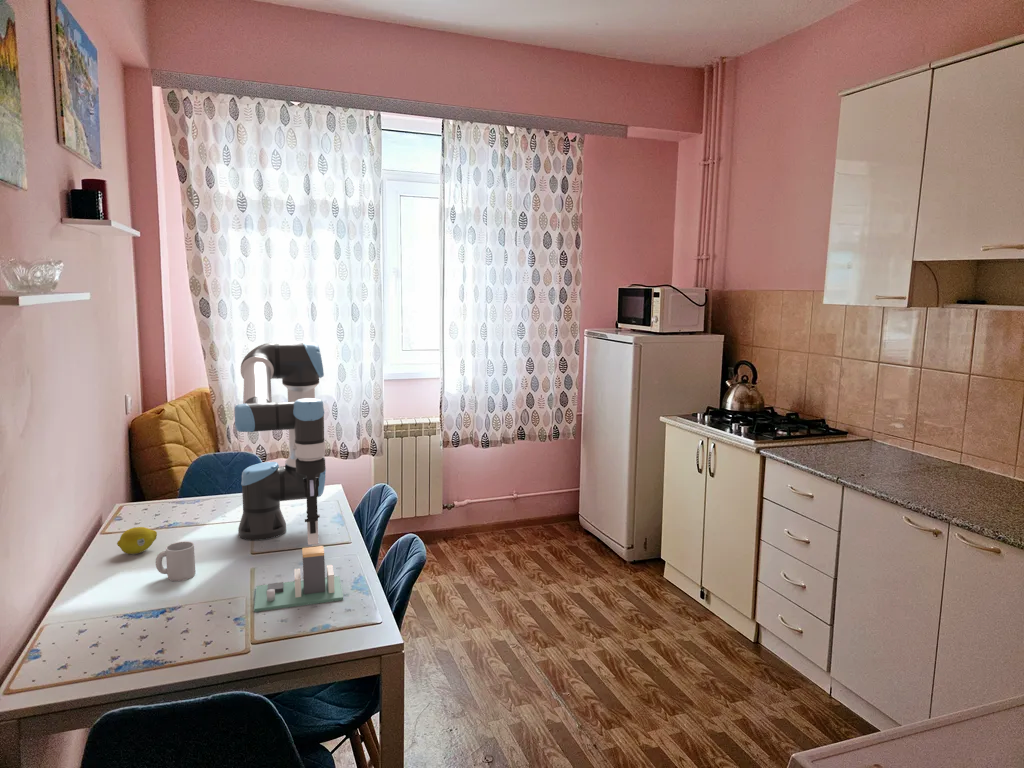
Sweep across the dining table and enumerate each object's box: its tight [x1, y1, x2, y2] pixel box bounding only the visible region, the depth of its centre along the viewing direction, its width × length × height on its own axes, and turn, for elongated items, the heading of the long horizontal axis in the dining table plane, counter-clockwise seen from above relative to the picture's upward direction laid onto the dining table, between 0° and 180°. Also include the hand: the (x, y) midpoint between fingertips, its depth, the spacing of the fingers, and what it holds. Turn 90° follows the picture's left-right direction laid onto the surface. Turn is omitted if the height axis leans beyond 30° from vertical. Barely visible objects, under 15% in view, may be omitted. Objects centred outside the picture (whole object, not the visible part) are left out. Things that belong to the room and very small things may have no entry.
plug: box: [301, 545, 326, 594], centre depth 178 cm, size 5×6×11 cm
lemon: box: [116, 526, 158, 555], centre depth 205 cm, size 11×8×8 cm
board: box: [253, 564, 344, 613], centre depth 177 cm, size 14×22×6 cm, turn 109°
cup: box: [155, 541, 196, 582], centre depth 187 cm, size 7×10×9 cm
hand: (313, 543), depth 177 cm, fingers closed
